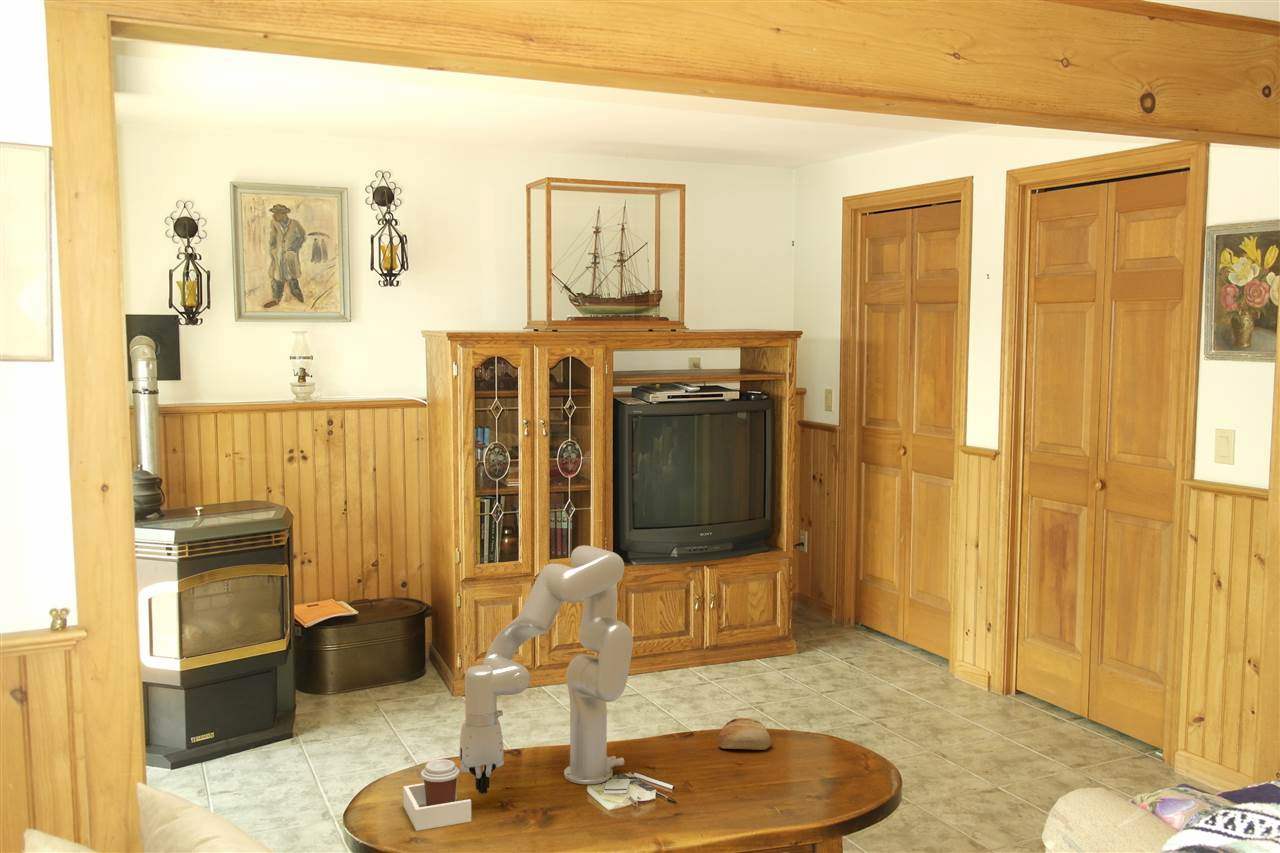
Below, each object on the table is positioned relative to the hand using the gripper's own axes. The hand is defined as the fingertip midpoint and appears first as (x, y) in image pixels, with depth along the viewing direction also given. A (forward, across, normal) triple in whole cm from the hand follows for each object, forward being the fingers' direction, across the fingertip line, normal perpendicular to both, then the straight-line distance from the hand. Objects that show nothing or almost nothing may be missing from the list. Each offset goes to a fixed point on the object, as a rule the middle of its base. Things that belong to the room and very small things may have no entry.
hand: (482, 791), depth 267 cm
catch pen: (+4, +12, 0) cm, 12 cm away
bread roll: (+5, -77, -10) cm, 78 cm away
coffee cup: (+4, +10, 0) cm, 11 cm away
